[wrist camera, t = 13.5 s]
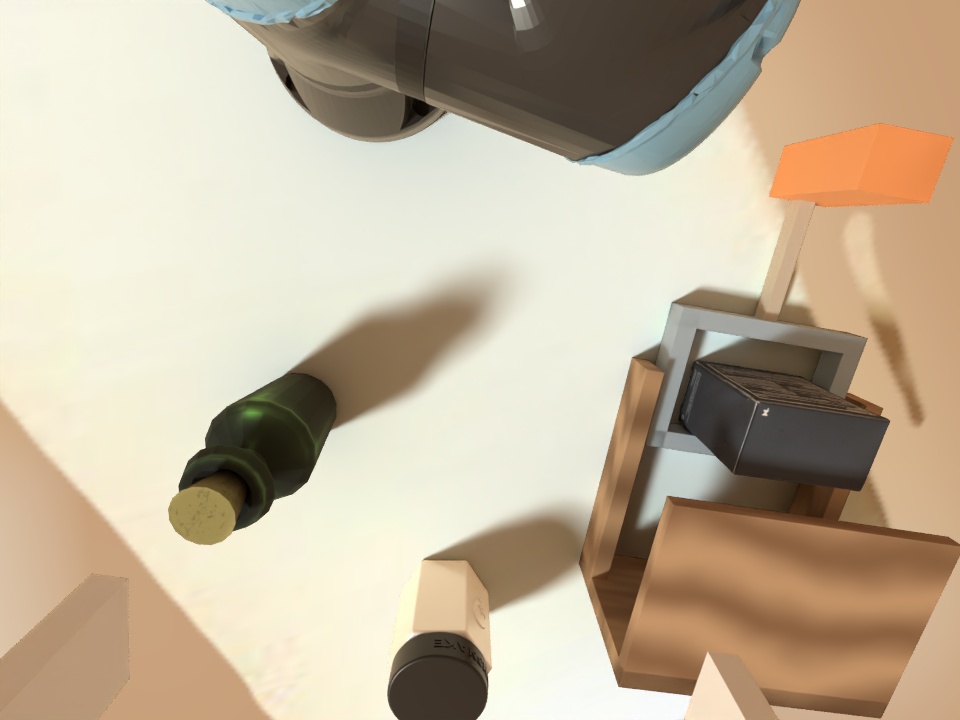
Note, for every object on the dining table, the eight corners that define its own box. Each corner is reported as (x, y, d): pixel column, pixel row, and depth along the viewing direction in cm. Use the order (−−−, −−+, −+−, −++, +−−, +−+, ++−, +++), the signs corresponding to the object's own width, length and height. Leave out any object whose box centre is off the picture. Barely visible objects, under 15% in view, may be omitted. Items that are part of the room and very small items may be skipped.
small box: (674, 424, 48) (729, 478, 38) (692, 358, 46) (755, 396, 36) (781, 439, 48) (863, 497, 38) (803, 375, 47) (895, 417, 37)
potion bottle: (314, 462, 48) (227, 599, 31) (240, 413, 47) (103, 528, 29) (363, 398, 46) (300, 504, 29) (287, 345, 45) (174, 424, 28)
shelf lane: (632, 357, 46) (701, 415, 32) (849, 393, 47) (1004, 463, 34) (579, 563, 52) (618, 686, 38) (774, 589, 53) (880, 718, 39)
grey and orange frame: (718, 133, 41) (794, 106, 31) (906, 169, 42) (1036, 154, 32) (636, 434, 48) (678, 487, 38) (800, 459, 49) (881, 517, 39)
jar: (500, 606, 53) (508, 714, 41) (432, 638, 54) (422, 753, 42) (457, 541, 51) (454, 636, 39) (388, 576, 52) (364, 679, 40)
